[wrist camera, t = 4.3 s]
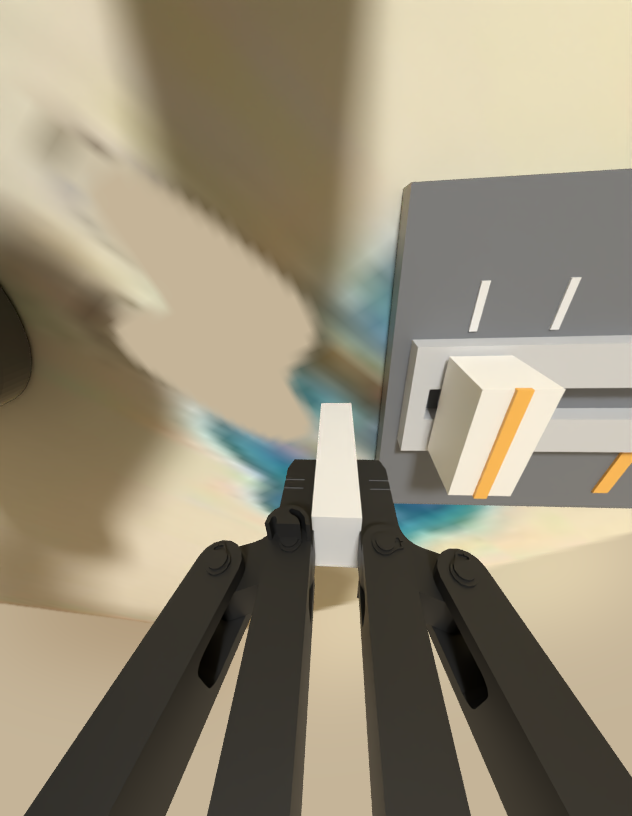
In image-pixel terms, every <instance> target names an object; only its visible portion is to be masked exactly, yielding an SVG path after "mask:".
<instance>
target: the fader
mask: <svg viewBox="0 0 632 816" xmlns="http://www.w3.org/2000/svg"><path fill="white" fill-rule="evenodd" d="M565 390H566V389H564V388H563V387H561V386H560V385H558V384H557V383H555V382H554V381H552V380H550V379H549V378H547V377H546V376H544V375H543V374H541V373H540V372H538V371H536V370H535V369H533V368H532V367H530V366H529V365H527V364H526V363H524V362H522V361H521V360H519V359H518V358H516V357H515V356H513V355H510V356H449V361H448V365H447V369H446V373H445V377H444V382H443V386H442V389H440V393H439V398H438V402H437V406H438V407H437V411H436V415H435V420H434V424H433V428H432V432H431V436H430V441H429V445H428V451H429V454H430V456H431V458H432V460H433V462H434V465H435V467H436V469H437V471H438V474H439V476H440V478H441V480H442V483H443V485H444V487H445V489H446V492H447V494H448V495H472V496H473V498H474V499H487V496H511V494H512V492H513V490H514V488H515V486H516V484H517V483H518V481H519V479H520V477H521V475H522V473H523V471H524V469H525V467H526V465H527V463H528V461H529V459H530V457H531V455H532V454H533V452H534V450H535V448H536V446H537V444H538V442H539V440H540V438H541V436H542V434H543V432H544V430H545V428H546V426H547V424H548V423H549V421H550V419H551V417H552V415H553V413H554V411H555V409H556V407H557V405H558V403H559V401H560V399H561V397H562V395H563V394H564V392H565Z"/></svg>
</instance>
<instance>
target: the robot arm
mask: <svg viewBox="0 0 632 816" xmlns="http://www.w3.org/2000/svg"><path fill="white" fill-rule="evenodd" d="M30 373H31V354H30V348H29V343H28V340H27V337H26V334H25V331H24V328H23V326H22V324H21V321H20V319H19V317H18V315H17V313H16V311H15V309H14V307H13V306H12V304H11V302H10V300H9V299H8V297H7V296H6V294H5V292H4V291H3V289H2V288H1V286H0V406H1V405H3V404H5V403H7V402H9V401H11V400H13V399H15V398H16V397H17V396H19V395H20V394H21V393H22V392H23V390H24V389H25V387H26V385H27V383H28V381H29V378H30ZM265 526H266V531H267V536H266V537H264V538H263V539H261V540H259V541H256V542H253V543H250V544H246V545H243V546H238V545H237V544H236V543H234V542H232V541H225V540H223V541H219V542H215V543H213V544H212V545H210V546H209V547H207V548H206V549H205V550H204V551H203V552H202V553H201V554H200V556H199V557H198V558H197V560H196V561H195V563H194V564H193V566H192V567H191V569H190V570H189V572H188V573H187V575H186V576H185V578H184V579H183V581H182V582H181V584H180V585H179V587H178V588H177V590H176V591H175V592H174V594H173V595H172V597H171V598H170V600H169V601H168V603H167V604H166V606H165V607H164V609H163V610H162V612H161V613H160V615H159V616H158V618H157V619H156V621H155V622H154V624H153V625H152V627H151V628H150V630H149V631H148V632H147V634H146V635H145V637H144V638H143V640H142V641H141V643H140V644H139V646H138V647H137V649H136V650H135V652H134V653H133V655H132V656H131V658H130V659H129V661H128V662H127V664H126V665H125V667H124V668H123V669H122V671H121V673H120V674H119V675H118V677H117V679H116V680H115V681H114V683H113V684H112V686H111V687H110V689H109V690H108V692H107V693H106V695H105V696H104V698H103V699H102V701H101V702H100V704H99V705H98V707H97V708H96V710H95V711H94V712H93V714H92V716H91V717H90V718H89V720H88V721H87V723H86V724H85V726H84V727H83V729H82V730H81V732H80V733H79V735H78V736H77V738H76V739H75V741H74V742H73V744H72V745H71V747H70V748H69V750H68V751H67V752H66V754H65V755H64V757H63V758H62V760H61V762H60V763H59V764H58V766H57V767H56V769H55V770H54V772H53V773H52V775H51V776H50V778H49V779H48V781H47V782H46V784H45V785H44V786H43V788H42V790H41V791H40V792H39V794H38V796H37V797H36V798H35V800H34V801H33V803H32V804H31V806H30V807H29V809H28V810H27V812H26V813H25V815H24V816H165V815H166V813H167V811H168V808H169V806H170V804H171V801H172V799H173V797H174V794H175V792H176V790H177V787H178V785H179V783H180V780H181V778H182V776H183V773H184V771H185V769H186V766H187V764H188V762H189V760H190V757H191V755H192V753H193V750H194V748H195V746H196V743H197V741H198V739H199V736H200V734H201V731H202V729H203V727H204V725H205V722H206V720H207V718H208V715H209V713H210V710H211V708H212V706H213V704H214V701H215V699H216V697H217V694H218V692H219V690H220V687H221V685H222V683H223V680H224V678H225V676H226V674H227V671H228V669H229V666H230V664H231V662H232V659H233V657H234V655H235V652H236V650H237V648H238V645H239V643H240V641H241V639H242V636H243V634H244V632H245V629H246V627H247V625H248V622H249V620H250V618H251V621H250V625H249V630H248V634H247V639H246V643H245V648H244V652H243V657H242V661H241V666H240V670H239V675H238V679H237V684H236V688H235V693H234V697H233V702H232V706H231V711H230V715H229V720H228V724H227V729H226V733H225V738H224V742H223V746H222V751H221V756H220V760H219V764H218V769H217V773H216V778H215V783H214V787H213V791H212V796H211V801H210V805H209V809H208V814H207V816H301V808H302V790H303V774H304V757H305V739H306V723H307V706H308V689H309V672H310V655H311V638H312V621H313V604H314V587H315V583H314V570H315V566H332V567H354V568H358V571H359V584H358V594H357V598H359V607H360V624H361V639H362V656H363V670H364V686H365V703H366V719H367V735H368V751H369V767H370V782H371V798H372V814H373V816H471V814H470V810H469V806H468V802H467V797H466V793H465V789H464V784H463V780H462V776H461V771H460V767H459V763H458V759H457V755H456V750H455V746H454V742H453V737H452V733H451V729H450V724H449V720H448V716H447V712H446V707H445V704H444V700H443V695H442V690H441V686H440V682H439V678H438V673H437V669H436V665H435V660H434V656H433V652H432V648H431V643H430V639H429V635H428V632H429V634H430V637H431V639H432V641H433V644H434V646H435V648H436V651H437V653H438V655H439V657H440V660H441V662H442V664H443V667H444V669H445V671H446V674H447V676H448V678H449V681H450V683H451V685H452V688H453V690H454V692H455V694H456V697H457V699H458V701H459V703H460V706H461V708H462V711H463V713H464V715H465V718H466V720H467V722H468V724H469V727H470V729H471V732H472V734H473V736H474V738H475V741H476V743H477V745H478V747H479V750H480V752H481V755H482V757H483V759H484V762H485V764H486V766H487V768H488V771H489V773H490V775H491V778H492V780H493V782H494V784H495V787H496V789H497V791H498V794H499V796H500V799H501V801H502V803H503V805H504V808H505V810H506V812H507V815H508V816H632V777H631V776H630V774H629V773H628V771H627V770H626V768H625V767H624V766H623V764H622V763H621V761H620V760H619V758H618V757H617V755H616V754H615V753H614V751H613V750H612V748H611V747H610V745H609V744H608V743H607V741H606V740H605V738H604V737H603V735H602V734H601V733H600V731H599V730H598V728H597V727H596V725H595V724H594V722H593V721H592V720H591V718H590V717H589V715H588V714H587V712H586V711H585V710H584V708H583V707H582V705H581V704H580V702H579V701H578V700H577V698H576V697H575V695H574V694H573V692H572V691H571V689H570V688H569V687H568V685H567V684H566V682H565V681H564V679H563V678H562V677H561V675H560V674H559V672H558V671H557V669H556V668H555V666H554V665H553V664H552V662H551V661H550V659H549V658H548V656H547V655H546V654H545V652H544V651H543V649H542V648H541V646H540V645H539V643H538V642H537V641H536V639H535V638H534V636H533V635H532V634H531V632H530V631H529V629H528V628H527V626H526V625H525V623H524V622H523V620H522V619H521V618H520V616H519V615H518V613H517V612H516V611H515V609H514V608H513V606H512V605H511V603H510V602H509V600H508V599H507V598H506V596H505V595H504V593H503V592H502V590H501V589H500V587H499V586H498V585H497V583H496V582H495V580H494V579H493V577H492V576H491V575H490V573H489V572H488V570H487V569H486V567H485V566H484V565H483V564H482V563H481V562H480V561H479V560H478V559H477V558H476V557H474V556H473V555H471V554H470V553H468V552H466V551H463V550H460V549H447V550H445V551H443V552H442V553H441V554H438V553H435V552H433V551H430V550H427V549H424V548H421V547H419V546H417V545H415V544H413V543H412V542H411V541H409V540H408V539H407V538H406V537H405V536H404V535H403V533H402V532H401V530H400V528H399V525H398V521H397V517H396V512H395V508H394V503H393V499H392V494H391V491H390V485H389V482H388V476H387V472H386V469H385V467H384V466H383V465H382V463H381V462H380V461H379V460H357V458H356V448H355V438H354V427H353V417H352V406H351V403H321V414H320V425H319V436H318V448H317V459H316V460H296V459H295V460H294V461H293V462H292V464H291V465H290V466H289V468H288V471H287V476H286V481H285V485H284V490H283V495H282V500H281V504H280V507H279V508H277V509H275V510H274V511H273V512H272V513H271V514H270V515H269V516H268V517H267V520H266V522H265ZM251 615H252V616H251Z"/></svg>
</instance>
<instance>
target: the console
mask: <svg viewBox="0 0 632 816" xmlns="http://www.w3.org/2000/svg"><path fill="white" fill-rule="evenodd" d="M510 355H513V356H515V357H516V358H518V359H519V360H521V361H522V362H524V363H526V364H527V365H529V366H530V367H532V368H533V369H535V370H536V371H538V372H540V373H541V374H543V375H544V376H546V377H547V378H549V379H550V380H552V381H554V382H555V383H557V384H558V385H560V386H561V387H563V388H564V389H566V390H565V392H564V394H563V395H562V397H561V399H560V401H559V403H558V405H557V407H556V409H555V411H554V413H553V415H552V417H551V419H550V421H549V423H548V424H547V426H546V428H545V430H544V432H543V434H542V436H541V438H540V440H539V442H538V444H537V446H536V448H535V450H534V452H533V454H532V455H531V457H530V459H529V461H528V463H527V465H526V467H525V469H524V471H523V473H522V475H521V477H520V479H519V481H518V483H517V484H516V486H515V488H514V490H513V492H512V494H511V496H487V499H474V498H473V496H472V495H448V494H447V492H446V489H445V487H444V485H443V483H442V480H441V478H440V476H439V474H438V471H437V469H436V467H435V465H434V462H433V460H432V458H431V456H430V454H429V451H428V445H429V441H430V436H431V432H432V428H433V424H434V420H435V415H436V411H437V407H438V406H437V402H438V398H439V393H440V389H442V386H443V382H444V377H445V373H446V369H447V365H448V361H449V356H510ZM375 460H379V461H380V462H381V463H382V465H383V466H384V467H385V469H386V472H387V476H388V482H389V485H390V491H391V494H392V499H393V503H409V504H454V505H500V506H546V507H591V508H632V169H618V170H602V171H586V172H570V173H554V174H537V175H521V176H505V177H489V178H473V179H457V180H441V181H425V182H411V183H410V184H409V185H407V186H406V187H405V188H404V190H403V199H402V209H401V219H400V228H399V238H398V247H397V257H396V266H395V276H394V286H393V295H392V305H391V314H390V324H389V334H388V343H387V353H386V362H385V372H384V381H383V391H382V401H381V410H380V420H379V429H378V439H377V448H376V458H375Z"/></svg>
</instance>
